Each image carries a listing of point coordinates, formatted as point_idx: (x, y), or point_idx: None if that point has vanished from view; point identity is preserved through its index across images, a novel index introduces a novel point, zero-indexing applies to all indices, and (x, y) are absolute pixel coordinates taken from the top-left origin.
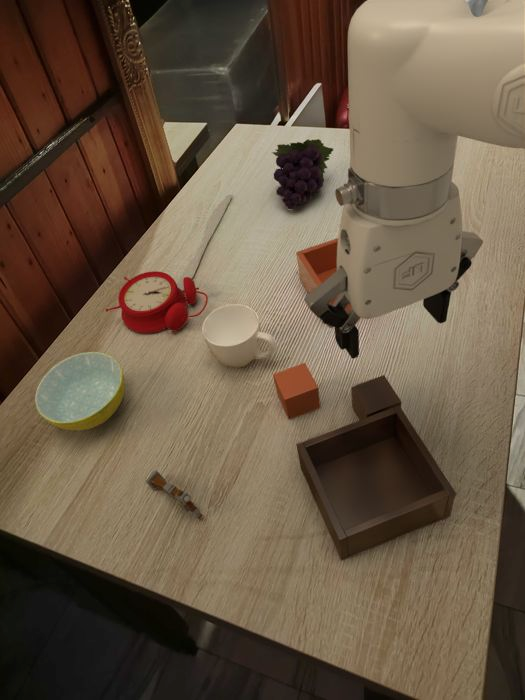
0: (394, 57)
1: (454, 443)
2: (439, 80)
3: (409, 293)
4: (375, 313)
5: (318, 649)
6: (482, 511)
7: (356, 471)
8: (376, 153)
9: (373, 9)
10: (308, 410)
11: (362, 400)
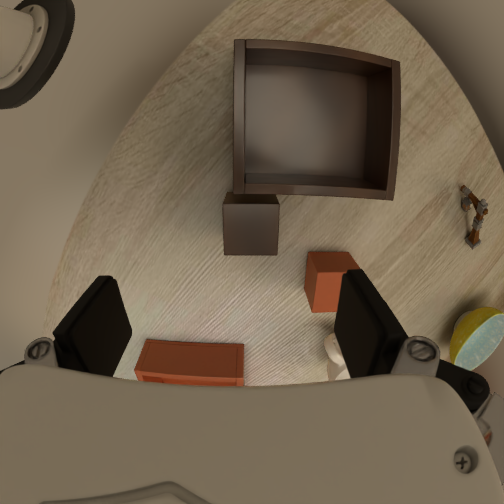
0: None
1: (179, 138)
2: None
3: (191, 465)
4: (404, 395)
5: (413, 30)
6: (199, 52)
7: (314, 148)
8: None
9: None
10: (324, 253)
11: (274, 228)
